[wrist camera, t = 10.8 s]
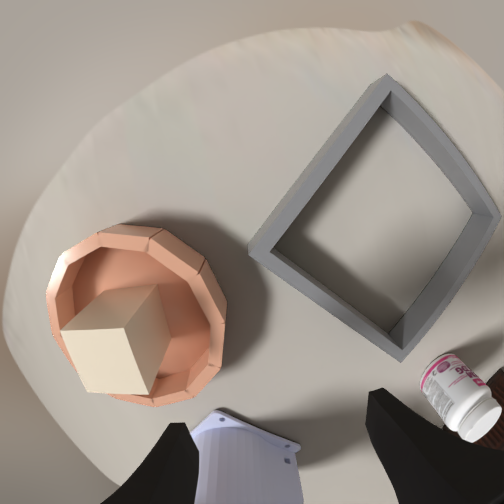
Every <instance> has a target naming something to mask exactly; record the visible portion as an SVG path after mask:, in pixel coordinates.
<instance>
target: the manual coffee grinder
mask: <svg viewBox="0 0 504 504" xmlns="http://www.w3.org/2000/svg"><path fill="white" fill-rule="evenodd" d="M486 385H487V386H488V387H489V388H490V390H491V394H492V395H491V397H492V398H494V399H495V400H496V401H497V402H498V404H499V405H500V406H501V408H502V412H501V415H500V417H499V418H498V420H497V422H496V423H495V424H494V426H493V427H492V428H491V429H490V430H489V431H488V432H487V433H486V434H485V435H484V436H482V437H481V438H480V439H478V440H477V441H475V442H473V443H475V444H478V445H481V446H484V447H488V448H492V449H497V450H502V451H504V372H503V370H502V369H499V370H498V371H497V372H496V373H495V374H494V375H493V376H492V377H491V378H490V379H489V380H488V382H487V383H486ZM443 430H444V431H446V432H448V433H450V434H452V435H454V436H456V437H458V438H461V437H460V435H459V434H458V431H452V430H450V429H449V428H448V427H447V425H445V426H444V427H443ZM461 439H462V438H461Z"/></svg>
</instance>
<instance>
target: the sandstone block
mask: <svg viewBox="0 0 504 504" xmlns="http://www.w3.org/2000/svg"><path fill="white" fill-rule="evenodd" d="M60 333H61V335H62V338H63V340H64V343H65V345H66V348H67V350H68V352H69V355H70V357H71V359H72V361H73V364H74V366H75V368H76V370H77V372H78V374H79V376H80V378H81V381H82V383H83V385H84V387H85V389H86V390H87V392H93V393H109V394H139V395H149V393H150V391H151V388H152V386H153V383H154V381H155V378H156V376H157V373H158V371H159V368H160V366H161V363H162V361H163V358H164V356H165V353H166V351H167V348H168V346H169V343H170V341H171V339H172V338H171V335H170V331H169V328H168V324H167V320H166V317H165V313H164V309H163V305H162V302H161V298H160V294H159V290H158V285H157V284H153V285H145V286H137V287H128V288H120V289H111V290H104V291H103V292H102V293H101V294H100V295H98V296H97V297H96V298H95V299H94V300H93V301H92V302H90V303H89V304H88V305H87V306H86V307H85V308H84V309H83V310H82V311H80V312H79V313H78V314H77V315H76V316H75V317H74V318H73V319H72V320H71V321H70V322H68V323H67V324H66V325H65V326H64V327H63V328H62V329H61V330H60Z"/></svg>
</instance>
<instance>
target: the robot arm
mask: <svg viewBox="0 0 504 504" xmlns="http://www.w3.org/2000/svg"><path fill="white" fill-rule="evenodd" d="M365 425H366V428H367V431H368V434H369V437H370V439H371V442H372V445H373V447H374V449H375V451H376V453H377V455H378V457H379V459H380V461H381V463H382V465H383V467H384V469H385V471H386V473H387V475H388V477H389V479H390V481H391V483H392V485H393V488H394V490H395V493H396V496H397V499H398V502H399V504H504V451H502V450H497V449H492V448H488V447H484V446H481V445H478V444H475V443H471V442H468V441H466V440H463V439H461V438H458V437H456V436H454V435H452V434H450V433H448V432H446V431H444V430H442V429H440V428H439V427H437V426H435V425H434V424H432V423H430V422H429V421H427V420H426V419H424V418H423V417H421V416H420V415H418V414H417V413H415V412H414V411H413V410H411V409H410V408H408V407H407V406H406V405H405V404H403V403H402V402H401V401H399V400H398V399H397V398H396V397H394V396H393V395H392V394H391V393H389V392H388V391H387V390H386V389H384V388H380V389H377V390H374V391H370V392H369V395H368V406H367V415H366V423H365ZM300 449H301V446H300V444H298V443H295V442H292V441H289V440H287V439H284V438H281V437H279V436H276V435H274V434H271V433H269V432H266V431H264V430H261V429H259V428H257V427H254V426H252V425H250V424H247V423H245V422H243V421H241V420H239V419H236V418H234V417H232V416H230V415H228V414H226V413H224V412H222V411H219V410H215V411H213V412H212V413H211V414H209V415H208V416H207V417H206V418H205V419H204V420H203V421H202V422H201V423H200V424H199V425H198V426H197V427H196V428H195V429H193V430H192V431H191V432H189V430H188V428H187V426H186V424H185V423H170V424H169V425H168V427H167V428H166V430H165V431H164V433H163V434H162V436H161V437H160V439H159V440H158V441H157V443H156V444H155V446H154V447H153V449H152V450H151V451H150V453H149V454H148V455H147V457H146V458H145V459H144V461H143V462H142V463H141V465H140V466H139V467H138V468H137V469H136V470H135V472H134V473H133V474H132V475H131V476H130V477H129V479H128V480H127V481H126V482H125V483H124V484H123V485H122V486H121V487H120V488H119V489H118V490H116V491H115V492H114V493H113V494H112V495H111V496H110V497H108V498H107V499H106V500H105V501H103V502H102V503H101V504H303V502H304V499H303V493H302V487H301V482H300V477H299V472H298V466H297V461H296V456H295V453H296V452H298V451H299V450H300Z"/></svg>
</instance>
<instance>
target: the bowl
mask: <svg viewBox="0 0 504 504" xmlns="http://www.w3.org/2000/svg"><path fill="white" fill-rule="evenodd" d="M204 259H205V257H204V256H202V255H201V254H199V253H198V252H197V251H195V250H194V249H192V248H191V247H189V246H188V245H187V244H185V243H184V242H182V241H181V240H180V239H178V238H177V237H176V236H174V235H173V234H171V233H170V232H169V231H167V230H166V229H164V230H163V228H155V227H145V226H134V225H123V224H118V225H115V226H112V227H109V228H107V229H104V230H102V231H99V232H97V233H95V234H93V235H92V236H90V237H88V238H87V239H85V240H83V241H82V242H80V243H78V244H77V245H75V246H73V247H72V248H70V249H69V250H67V251H65V252H64V253H62V254H61V255H60V257H59V259H58V262H57V264H56V267H55V269H54V272H53V274H52V277H51V280H50V282H49V285H48V288H47V291H46V293H47V294H46V300H47V307H48V313H49V319H50V324H51V330H52V335H54V336H53V337H54V339H55V340H56V342H57V343H58V345H59V347H60V348H61V350H62V351H63V353H64V354H65V356H66V357H67V359H68V360H69V362H70V363H71V365H72V366H73V367H74V369H75V370H76V368H75V366H74V364H73V361H72V359H71V357H70V355H69V352H68V350H67V348H66V345H65V343H64V340H63V338H62V335H61V333H60V330H61V329H62V328H63V327H64V326H65V325H66V324H67V323H68V322H70V321H71V320H72V319H73V318H74V317H75V316H76V315H77V314H78V313H79V312H80V311H82V310H83V309H84V308H85V307H86V306H87V305H88V304H89V303H90V302H92V301H93V300H94V299H95V298H96V297H97V296H98V295H100V294H101V293H102V292H103V291H104V290H111V289H120V288H128V287H137V286H145V285H153V284H157V285H158V290H159V294H160V298H161V302H162V305H163V309H164V313H165V317H166V320H167V324H168V328H169V331H170V335H171V338H172V339H171V341H170V343H169V346H168V348H167V351H166V353H165V356H164V358H163V361H162V363H161V366H160V368H159V371H158V373H157V376H156V378H155V381H154V383H153V386H152V388H151V391H150V393H149V395H139V394H109V393H107V394H108V395H110V396H111V397H114V398H116V399H120V400H124V401H128V402H133V403H137V404H142V405H147V406H152V407H155V406H156V407H158V406H163V405H167V404H171V403H175V402H179V401H183V400H187V399H191V398H194V397H195V396H196V395H197V394H198V393H199V392H200V391H201V390H202V389H203V388H204V387H205V386H206V384H207V383H208V382H209V381H210V380H211V379H212V378H213V377H214V376H215V375H216V374H217V372H218V371H219V370H220V369H221V365H222V355H223V345H224V334H225V323H226V312H227V300H226V298H225V296H224V294H223V292H222V290H221V288H220V286H219V284H218V282H217V280H216V278H215V276H214V274H213V272H212V270H211V268H210V266H209V263H208V261H207V259H205V260H204ZM76 372H77V370H76Z"/></svg>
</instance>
